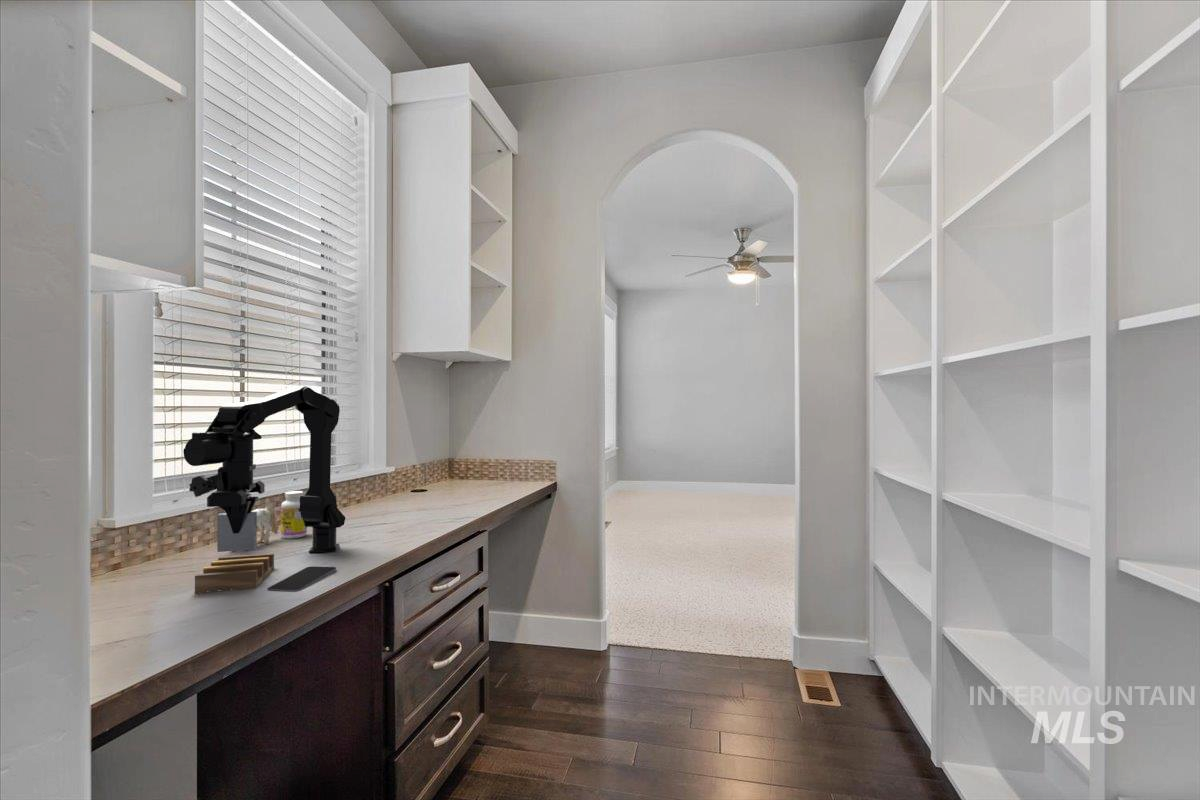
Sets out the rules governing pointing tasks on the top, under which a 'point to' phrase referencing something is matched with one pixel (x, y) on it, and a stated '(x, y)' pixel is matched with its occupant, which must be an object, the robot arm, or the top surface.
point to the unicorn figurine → (266, 523)
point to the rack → (235, 572)
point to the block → (236, 534)
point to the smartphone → (302, 579)
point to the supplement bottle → (292, 516)
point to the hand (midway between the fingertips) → (237, 532)
